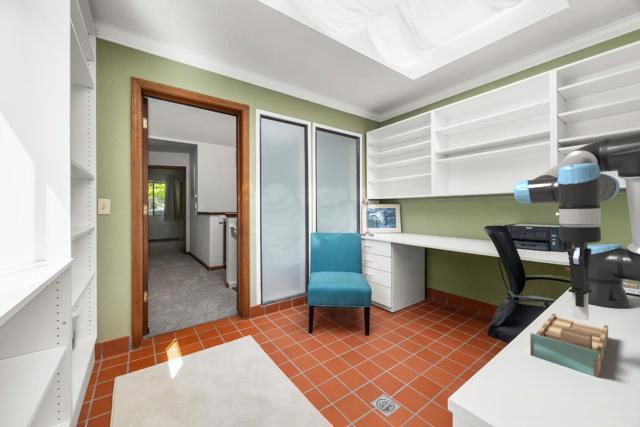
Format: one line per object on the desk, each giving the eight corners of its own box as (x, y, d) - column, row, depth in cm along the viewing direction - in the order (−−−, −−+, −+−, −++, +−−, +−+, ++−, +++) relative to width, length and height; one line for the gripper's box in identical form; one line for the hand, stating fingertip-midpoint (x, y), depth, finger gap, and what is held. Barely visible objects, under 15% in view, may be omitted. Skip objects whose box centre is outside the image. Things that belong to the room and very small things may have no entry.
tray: (552, 325, 84) (552, 308, 84) (608, 339, 75) (608, 319, 75) (530, 355, 67) (530, 333, 67) (598, 377, 58) (598, 352, 58)
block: (564, 343, 68) (564, 325, 68) (592, 351, 64) (592, 332, 64) (560, 349, 65) (560, 331, 64) (589, 358, 61) (589, 339, 61)
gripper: (563, 223, 74) (565, 307, 74) (554, 226, 65) (555, 321, 66) (603, 224, 68) (604, 315, 68) (597, 227, 59) (599, 331, 60)
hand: (580, 317), depth 67 cm, fingers closed
